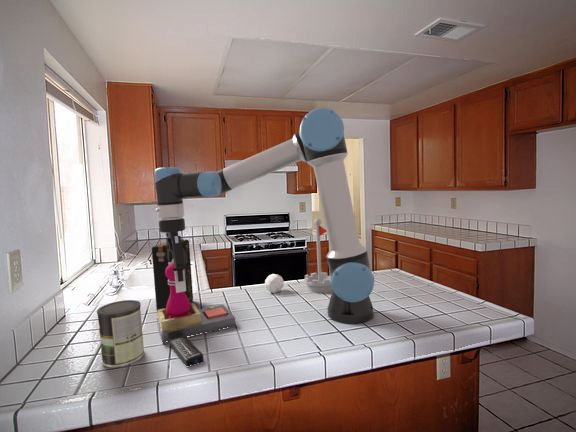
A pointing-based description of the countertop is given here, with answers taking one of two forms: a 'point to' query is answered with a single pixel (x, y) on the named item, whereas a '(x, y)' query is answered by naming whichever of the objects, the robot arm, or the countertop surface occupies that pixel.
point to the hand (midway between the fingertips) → (177, 286)
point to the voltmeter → (160, 278)
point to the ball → (274, 283)
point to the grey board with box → (192, 323)
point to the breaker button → (215, 313)
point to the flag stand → (322, 280)
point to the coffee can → (120, 333)
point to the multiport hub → (186, 351)
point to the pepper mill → (176, 296)
